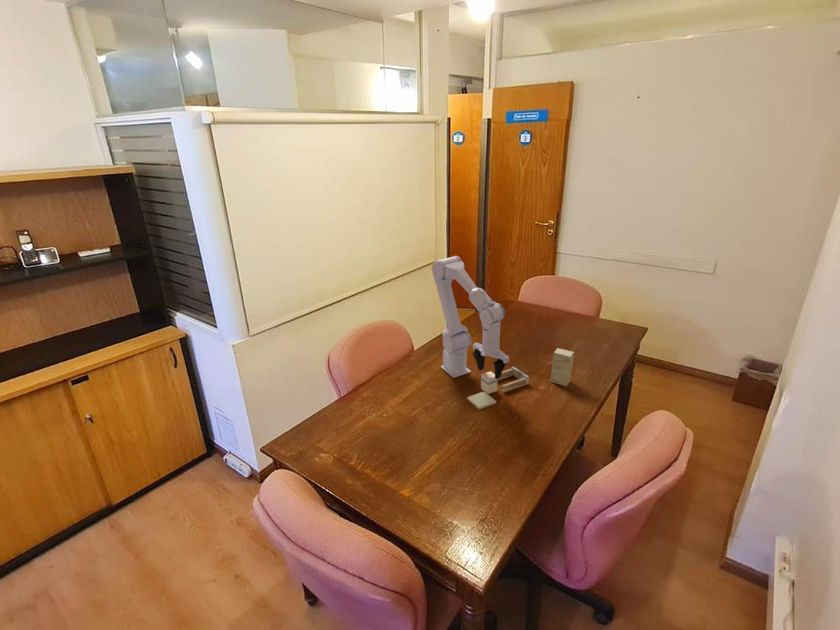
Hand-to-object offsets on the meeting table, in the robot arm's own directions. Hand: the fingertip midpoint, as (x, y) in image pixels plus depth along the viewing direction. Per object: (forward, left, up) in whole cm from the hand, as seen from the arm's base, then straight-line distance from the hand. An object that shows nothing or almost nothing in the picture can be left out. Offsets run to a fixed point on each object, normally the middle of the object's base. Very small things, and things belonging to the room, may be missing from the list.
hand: (489, 373), depth 155 cm
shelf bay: (0, +9, -7) cm, 11 cm away
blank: (0, 0, -7) cm, 7 cm away
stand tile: (+5, -6, -7) cm, 10 cm away
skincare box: (+9, +26, -7) cm, 28 cm away
